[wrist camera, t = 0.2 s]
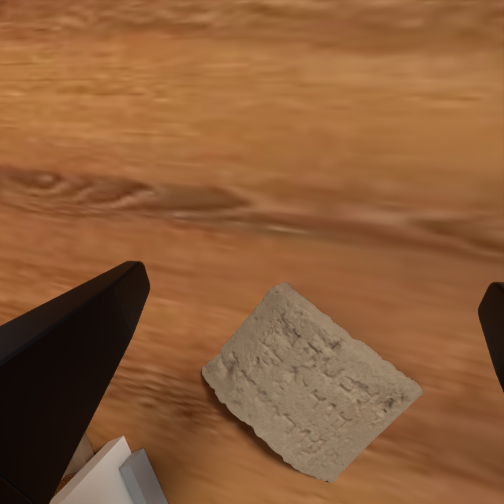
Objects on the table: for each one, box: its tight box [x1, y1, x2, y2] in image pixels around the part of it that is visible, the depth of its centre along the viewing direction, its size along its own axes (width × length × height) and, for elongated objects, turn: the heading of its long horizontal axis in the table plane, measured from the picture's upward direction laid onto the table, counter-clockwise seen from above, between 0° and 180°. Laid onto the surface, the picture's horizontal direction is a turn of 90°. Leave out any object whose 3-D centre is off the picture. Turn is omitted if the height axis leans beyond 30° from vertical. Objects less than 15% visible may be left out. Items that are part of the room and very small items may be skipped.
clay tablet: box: [202, 282, 423, 483], centre depth 23 cm, size 14×10×3 cm
